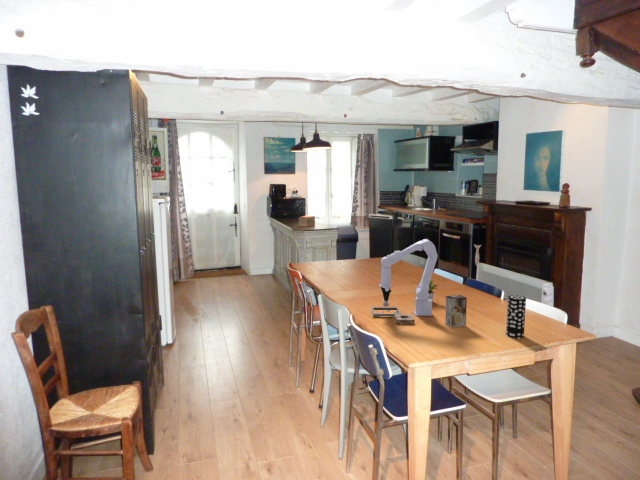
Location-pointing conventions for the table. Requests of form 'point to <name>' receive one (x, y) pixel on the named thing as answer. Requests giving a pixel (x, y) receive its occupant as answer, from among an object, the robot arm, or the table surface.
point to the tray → (386, 311)
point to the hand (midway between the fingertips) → (385, 300)
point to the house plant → (431, 293)
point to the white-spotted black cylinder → (516, 316)
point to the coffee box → (456, 310)
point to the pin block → (404, 318)
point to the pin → (385, 302)
